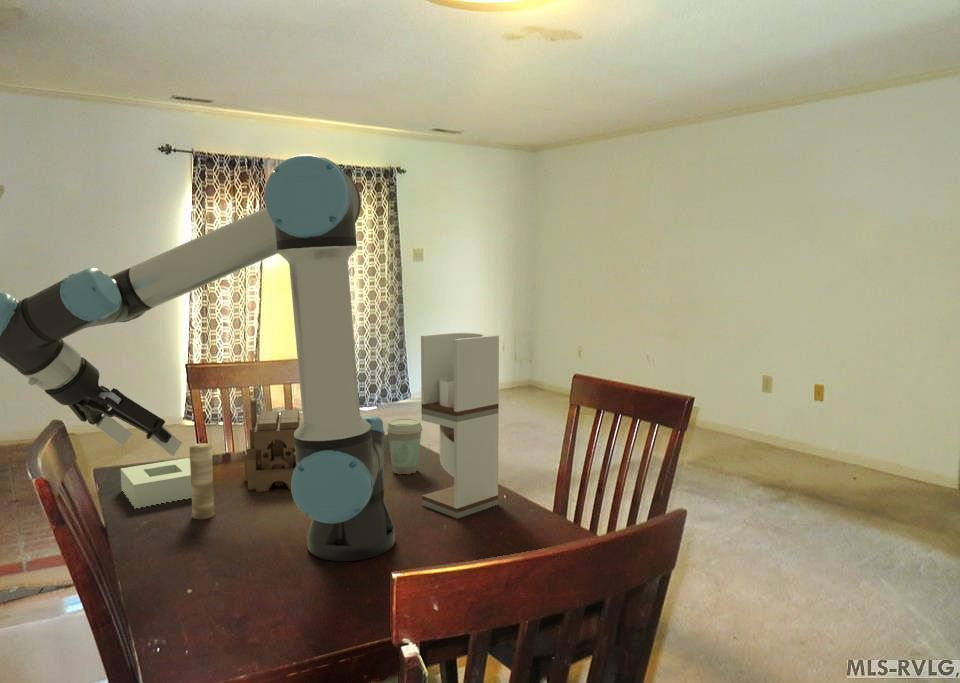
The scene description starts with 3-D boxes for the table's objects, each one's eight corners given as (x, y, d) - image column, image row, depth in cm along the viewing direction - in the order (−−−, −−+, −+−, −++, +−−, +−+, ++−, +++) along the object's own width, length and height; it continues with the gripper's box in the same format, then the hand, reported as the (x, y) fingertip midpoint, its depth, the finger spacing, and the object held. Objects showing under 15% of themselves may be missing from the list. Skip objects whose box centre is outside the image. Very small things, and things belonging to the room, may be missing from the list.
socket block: (206, 495, 149) (205, 472, 148) (135, 509, 140) (133, 484, 140) (189, 479, 160) (188, 457, 159) (121, 490, 151) (120, 468, 151)
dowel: (218, 514, 138) (216, 444, 136) (202, 520, 134) (199, 449, 133) (204, 510, 139) (201, 442, 138) (188, 517, 136) (184, 447, 134)
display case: (462, 492, 151) (462, 331, 147) (498, 504, 143) (498, 335, 140) (422, 505, 143) (420, 335, 139) (457, 518, 135) (457, 339, 132)
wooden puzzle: (311, 488, 154) (308, 405, 152) (241, 493, 150) (238, 408, 148) (310, 461, 175) (308, 388, 173) (249, 465, 172) (246, 390, 169)
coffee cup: (379, 472, 165) (378, 422, 164) (403, 464, 172) (402, 416, 171) (406, 478, 161) (406, 427, 159) (430, 469, 168) (429, 420, 166)
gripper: (1, 385, 114) (94, 453, 129) (96, 399, 103) (186, 472, 118) (33, 350, 119) (119, 419, 133) (127, 360, 107) (210, 435, 122)
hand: (151, 444), depth 126 cm, fingers open, 13 cm apart
